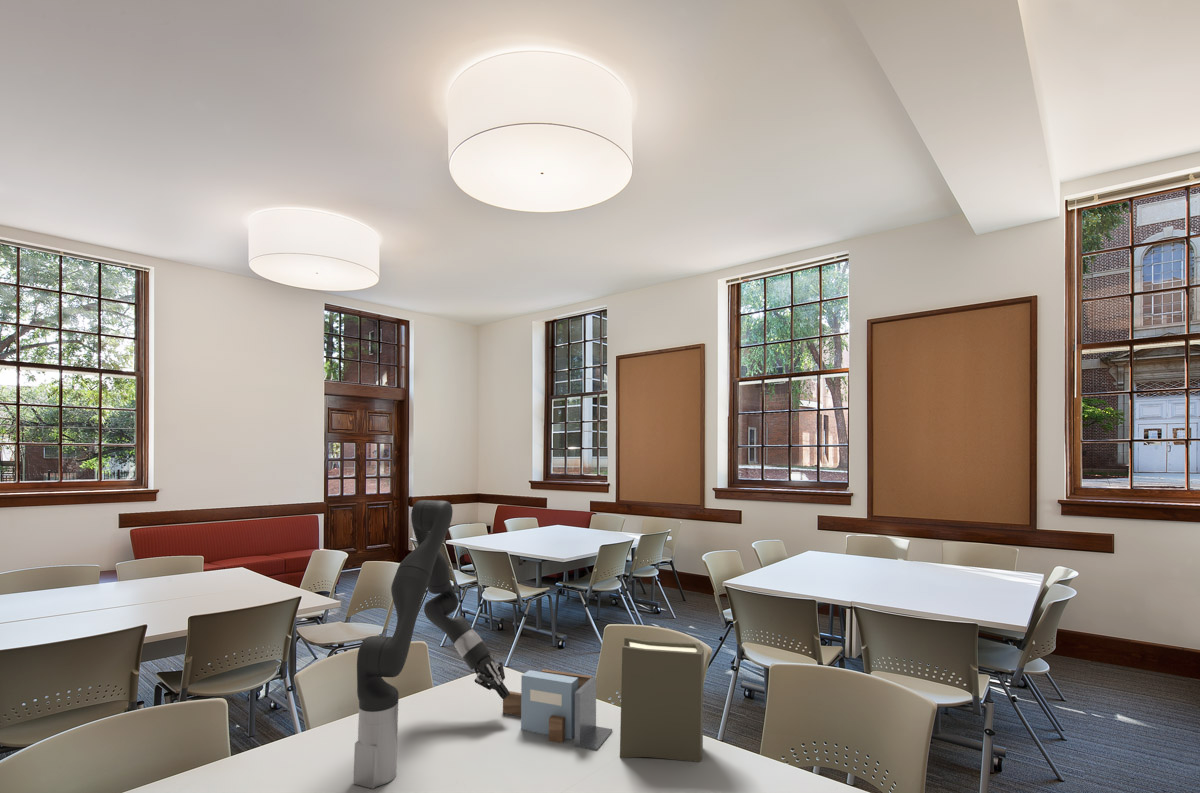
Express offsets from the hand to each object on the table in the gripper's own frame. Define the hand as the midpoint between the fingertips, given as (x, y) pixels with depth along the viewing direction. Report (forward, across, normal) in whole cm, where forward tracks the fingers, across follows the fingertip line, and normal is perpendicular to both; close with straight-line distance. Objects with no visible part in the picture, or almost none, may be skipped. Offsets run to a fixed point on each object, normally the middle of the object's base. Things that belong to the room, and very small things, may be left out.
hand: (506, 696), depth 179 cm
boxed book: (+15, 0, -5) cm, 16 cm away
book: (+39, +1, -28) cm, 48 cm away
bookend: (+25, 0, -14) cm, 29 cm away
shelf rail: (+12, +1, -2) cm, 13 cm away
